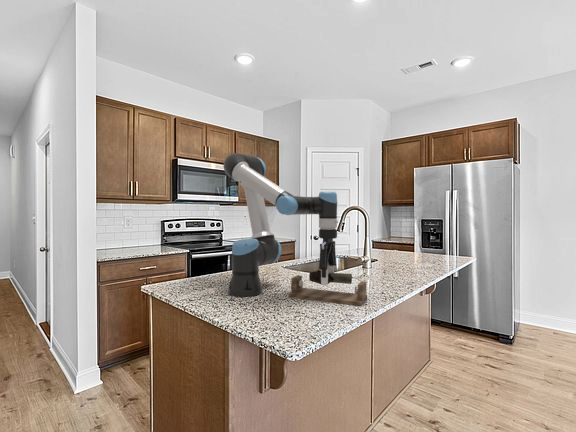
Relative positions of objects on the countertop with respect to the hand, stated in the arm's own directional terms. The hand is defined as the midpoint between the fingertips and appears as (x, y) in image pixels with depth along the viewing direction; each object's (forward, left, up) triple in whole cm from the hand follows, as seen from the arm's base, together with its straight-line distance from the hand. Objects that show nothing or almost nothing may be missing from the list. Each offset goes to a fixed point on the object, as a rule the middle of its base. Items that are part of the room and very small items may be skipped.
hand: (327, 282), depth 135 cm
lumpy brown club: (+1, 0, -1) cm, 1 cm away
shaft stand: (0, 0, -6) cm, 6 cm away
